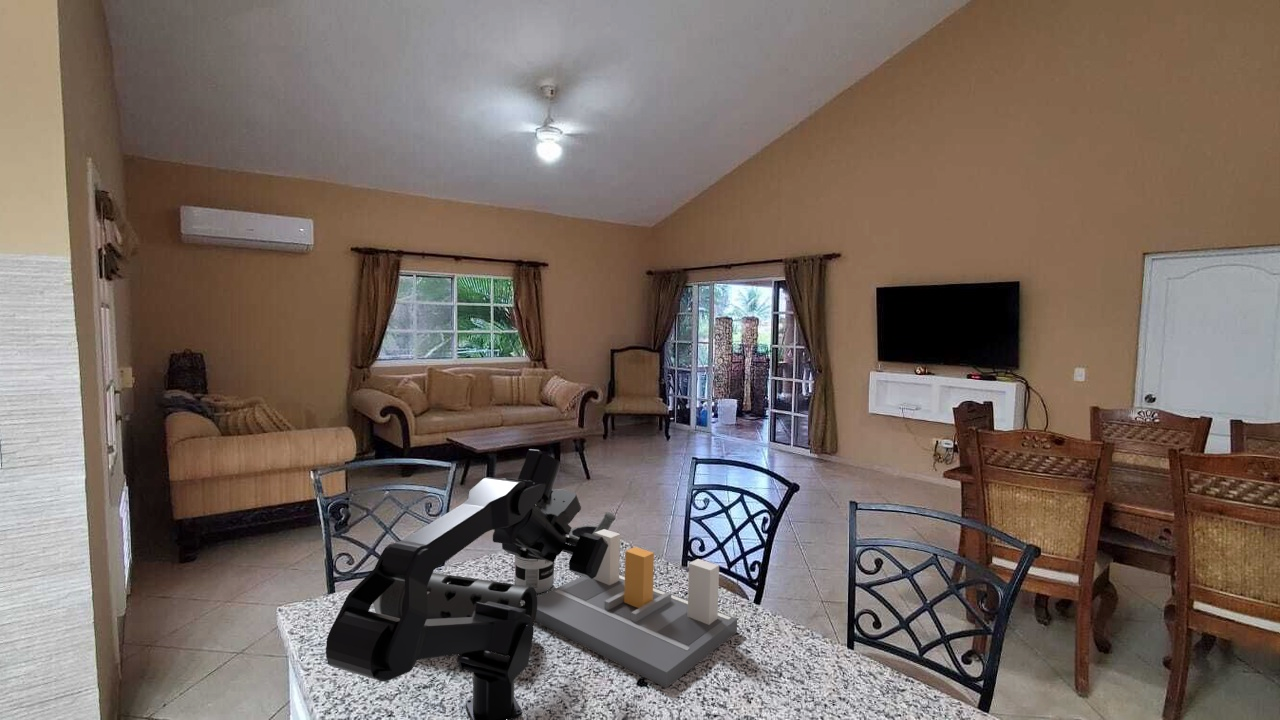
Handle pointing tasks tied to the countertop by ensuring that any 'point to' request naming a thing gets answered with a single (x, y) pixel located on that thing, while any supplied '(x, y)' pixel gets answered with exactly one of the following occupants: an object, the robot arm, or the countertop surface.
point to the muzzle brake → (458, 597)
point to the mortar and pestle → (593, 527)
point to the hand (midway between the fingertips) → (575, 563)
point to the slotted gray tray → (640, 619)
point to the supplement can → (534, 573)
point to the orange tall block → (638, 577)
